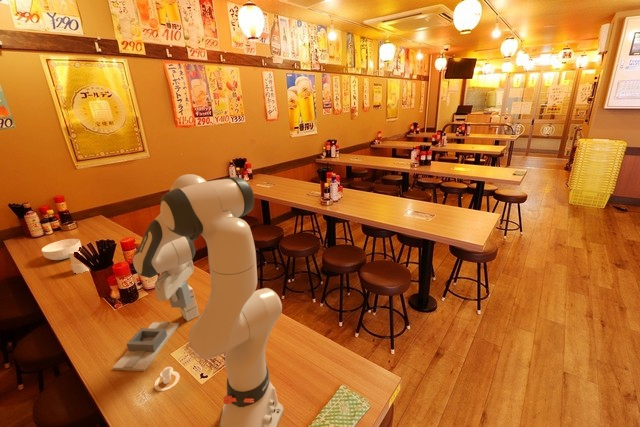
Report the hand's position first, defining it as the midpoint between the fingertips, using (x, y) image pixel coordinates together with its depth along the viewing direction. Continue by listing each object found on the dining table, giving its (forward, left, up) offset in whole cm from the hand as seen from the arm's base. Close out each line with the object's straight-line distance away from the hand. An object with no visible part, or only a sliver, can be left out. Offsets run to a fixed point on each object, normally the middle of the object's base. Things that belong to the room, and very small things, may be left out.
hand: (179, 296), depth 115 cm
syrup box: (+14, +7, -21) cm, 26 cm away
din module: (0, 0, -4) cm, 4 cm away
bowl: (+69, +122, -21) cm, 142 cm away
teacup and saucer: (-17, -3, -21) cm, 27 cm away
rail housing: (-4, +15, -21) cm, 26 cm away
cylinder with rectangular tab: (+52, +94, -21) cm, 110 cm away
